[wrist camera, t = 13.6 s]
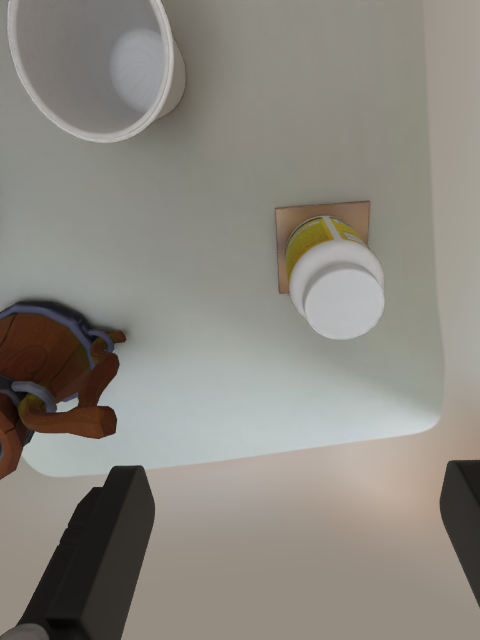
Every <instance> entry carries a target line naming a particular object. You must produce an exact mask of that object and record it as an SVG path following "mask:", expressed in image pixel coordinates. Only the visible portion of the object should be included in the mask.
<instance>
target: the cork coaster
mask: <svg viewBox="0 0 480 640" xmlns="http://www.w3.org/2000/svg"><path fill="white" fill-rule="evenodd" d="M369 212H370V202H369V201H360V202H347V203H335V204H322V205H310V206H297V207H284V208H276V209H275V213H276V233H277V254H278V274H279V293H280V294H284V293H290V292H289V285H288V277H287V270H286V263H285V249H286V244H287V241H288V239H289V237H290V235H291V234H292V232H293V231H294V230H295V229H296V228H297V227H298V226H299V225H300V224H301V223H303V222H304V221H306V220H308V219H310V218H313V217H317V216H332V217H336V218H339V219H341V220H343V221H345V222H346V223H348V224H349V225H350V226H351V227H352V228H353V229H354V231H355V232H356V233H357V234H358V235H359V237H360V238H361V239H362V240H363V242H364V243H365V244H366V245H367V244H368V228H369Z"/></svg>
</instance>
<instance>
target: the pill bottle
mask: <svg viewBox="0 0 480 640" xmlns="http://www.w3.org/2000/svg"><path fill="white" fill-rule="evenodd" d="M285 263H286V270H287V277H288V285H289V292H290V296H291V300H292V302H293V305H294V307H295V308H296V310H297V311H298V312H299V314H300V315H301V316H302V317H303V318H305V319H306V320H307V321H308V323H309V324H310V326H311V327H312V328H313V329H314V330H315V331H316V332H317V333H319V334H320V335H322V336H324V337H327V338H330V339H335V340H347V339H352V338H355V337H358V336H361V335H363V334H364V333H366V332H368V331H369V330H370V329H371V328H372V327H373V326H374V325H375V324H376V323H377V322H378V321H379V319H380V317H381V315H382V313H383V309H384V303H385V299H384V293H383V287H384V276H383V271H382V268H381V265H380V263H379V261H378V259H377V258H376V256H375V255H374V254H373V252H372V251H371V250H370V249H369V248H368V247H367V245H366V244H365V243H364V242H363V240H362V239H361V238H360V237H359V235H358V234H357V233H356V232H355V231H354V229H353V228H352V227H351V226H350V225H349V224H348V223H346V222H345V221H343V220H341V219H339V218H336V217H332V216H317V217H313V218H310V219H308V220H306V221H304V222H303V223H301V224H300V225H299V226H298V227H297V228H296V229H295V230H294V231H293V232H292V234H291V235H290V237H289V239H288V241H287V244H286V249H285Z"/></svg>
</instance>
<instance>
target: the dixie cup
mask: <svg viewBox="0 0 480 640" xmlns="http://www.w3.org/2000/svg"><path fill="white" fill-rule="evenodd" d="M7 32H8V41H9V47H10V52H11V56H12V59H13V62H14V65H15V68H16V71H17V73H18V76H19V78H20V80H21V82H22V84H23V86H24V88H25V90H26V91H27V93H28V95H29V96H30V98H31V99H32V100H33V102H34V103H35V104H36V106H37V107H38V108H39V109H40V110H41V112H42V113H43V114H44V115H45V116H46V117H47V118H48V119H49V120H51V121H52V122H53V123H54V124H55V125H57V126H58V127H60V128H61V129H62V130H64V131H66V132H67V133H69V134H71V135H73V136H75V137H78V138H80V139H83V140H87V141H91V142H97V143H114V142H119V141H123V140H126V139H129V138H131V137H133V136H135V135H137V134H138V133H140V132H141V131H143V130H144V129H145V128H146V127H148V126H149V125H150V124H151V123H152V122H153V121H154V120H156V119H159V118H161V117H163V116H165V115H166V114H168V113H169V112H171V111H172V110H173V109H174V108H175V107H176V106H177V104H178V103H179V101H180V100H181V97H182V95H183V92H184V89H185V83H186V70H185V64H184V60H183V57H182V55H181V53H180V50H179V48H178V46H177V44H176V42H175V40H174V38H173V36H172V32H171V28H170V24H169V20H168V17H167V14H166V11H165V9H164V6H163V4H162V2H161V0H9V4H8V13H7Z"/></svg>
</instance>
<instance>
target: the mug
mask: <svg viewBox="0 0 480 640" xmlns="http://www.w3.org/2000/svg"><path fill="white" fill-rule="evenodd" d="M126 340H127V339H126V336H125V335H124V334H123V333H122V332H121V331H120V332H103V331H101V330H95V329H93V328H92V327H91V326H90V325H89V323H88V322H87V321H86V320H85V318H84V317H83V316H82V315H81V314H79V313H77V312H74V311H72V310H69V309H67V308H64V307H62V306H59V305H57V304H55V303H52V302H18V303H16V304H14V305H12V306H10V307H9V308H7V309H5V310H3V311H1V312H0V480H1V479H2V478H4V477H5V476H7V475H9V474H10V473H12V472H13V471H15V470H16V468H17V465H18V462H19V459H20V456H21V453H22V450H23V447H24V446H25V445H26V444H28V443H29V442H30V440H31V438H32V436H33V434H34V432H35V431H36V432H39V433H70V434H74V435H79V436H83V437H87V438H95V439H100V438H103V437H106V436H109V435H112V434H114V433H116V424H117V417H116V415H115V412H114V410H113V409H112V408H110V407H109V406H97V404H98V401H99V398H100V396H101V394H102V392H103V391H104V389H105V388H106V387H107V385H108V384H109V383H110V381H111V380H112V379H113V378H114V377H115V376H116V374H117V371H118V368H119V365H120V364H119V360H118V356H117V355H116V354H114V353H112V352H113V350H114V345H113V343H122V342H125V341H126ZM107 347H108V348H107ZM106 348H107V350H106V351H105V349H106ZM76 397H78V400H79V403H78V406H77V407H75V408H73V409H71V410H69V411H67V412H60V413H59V412H56V410H57V406H56V404H57V403H59V402H61V401H62V402H67V401H69V400H71V399H74V398H76Z"/></svg>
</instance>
